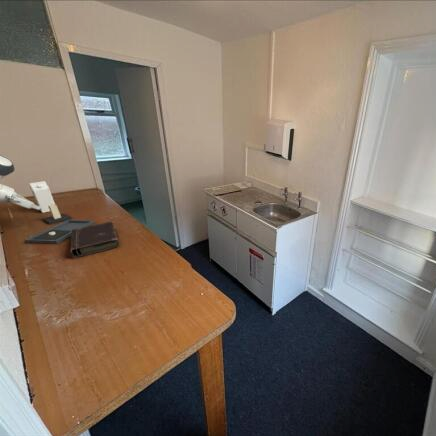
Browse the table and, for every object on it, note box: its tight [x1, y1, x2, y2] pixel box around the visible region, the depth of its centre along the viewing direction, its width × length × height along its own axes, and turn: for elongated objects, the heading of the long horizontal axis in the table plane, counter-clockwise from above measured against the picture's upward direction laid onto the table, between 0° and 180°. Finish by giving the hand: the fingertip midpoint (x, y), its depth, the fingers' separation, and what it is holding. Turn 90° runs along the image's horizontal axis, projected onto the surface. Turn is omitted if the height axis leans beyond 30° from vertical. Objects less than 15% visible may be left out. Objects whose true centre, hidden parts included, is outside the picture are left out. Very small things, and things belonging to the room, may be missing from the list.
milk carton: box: [29, 180, 56, 214], centre depth 149 cm, size 7×7×19 cm
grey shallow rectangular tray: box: [24, 219, 96, 245], centre depth 127 cm, size 15×25×2 cm, turn 1°
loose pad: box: [42, 203, 72, 225], centre depth 139 cm, size 10×10×9 cm
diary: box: [69, 221, 120, 259], centre depth 118 cm, size 19×25×5 cm
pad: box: [34, 230, 71, 240], centre depth 121 cm, size 10×10×2 cm
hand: (36, 206), depth 132 cm, fingers open, 8 cm apart
